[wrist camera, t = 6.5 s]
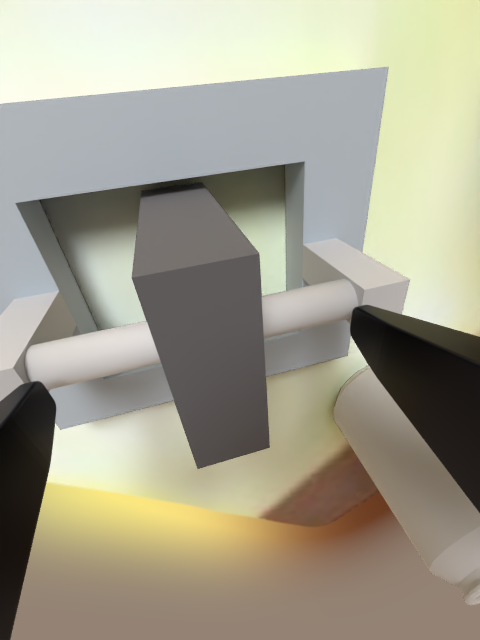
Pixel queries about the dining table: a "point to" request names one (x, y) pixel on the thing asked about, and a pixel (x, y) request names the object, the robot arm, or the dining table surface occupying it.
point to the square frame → (173, 164)
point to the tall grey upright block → (204, 319)
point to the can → (412, 482)
